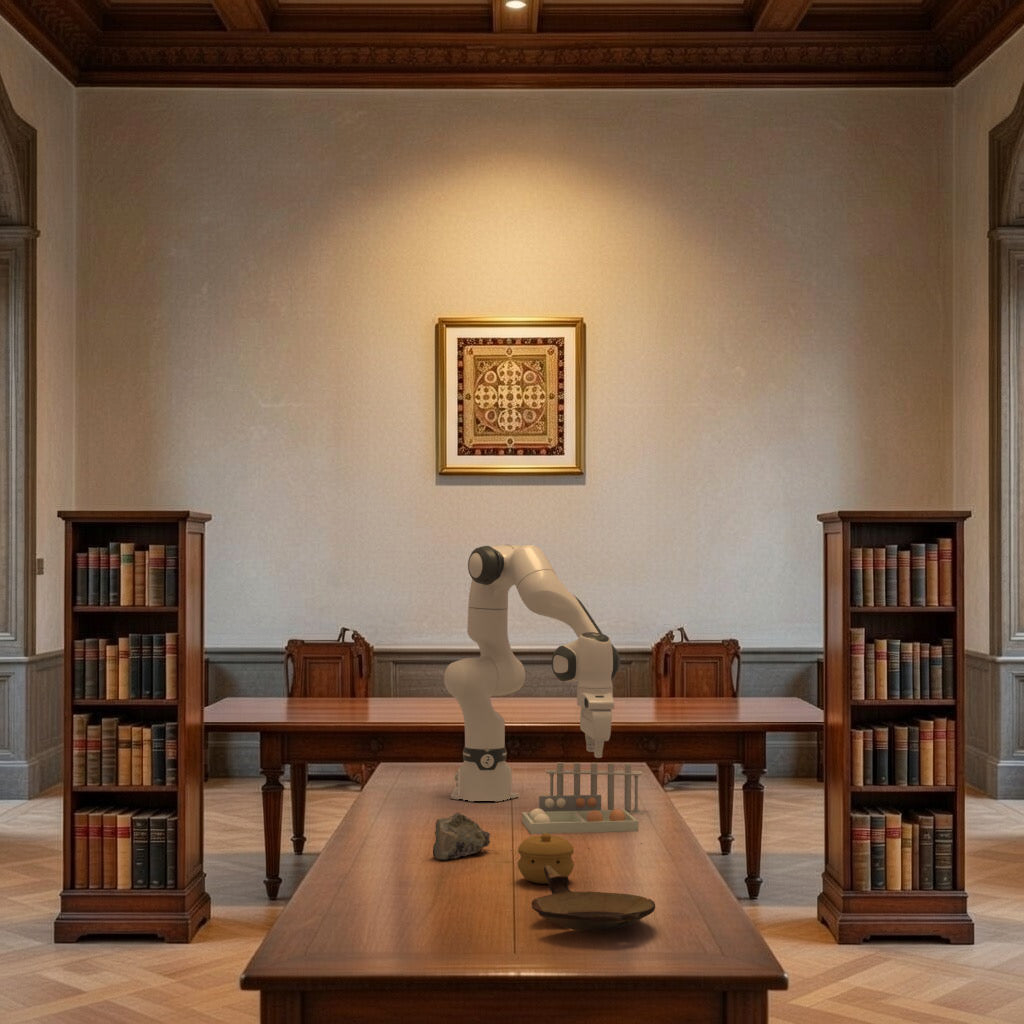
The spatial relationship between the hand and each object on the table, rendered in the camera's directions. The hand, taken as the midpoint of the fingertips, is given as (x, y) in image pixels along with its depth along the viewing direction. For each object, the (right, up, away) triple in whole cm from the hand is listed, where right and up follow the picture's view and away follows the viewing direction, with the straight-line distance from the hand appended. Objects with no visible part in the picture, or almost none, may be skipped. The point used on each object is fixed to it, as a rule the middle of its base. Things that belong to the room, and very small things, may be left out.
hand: (594, 754), depth 343 cm
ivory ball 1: (-14, -18, +1) cm, 22 cm away
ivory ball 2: (-13, -17, -6) cm, 23 cm away
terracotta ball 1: (0, -18, 0) cm, 18 cm away
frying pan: (-6, -16, -88) cm, 90 cm away
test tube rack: (+1, -19, +19) cm, 27 cm away
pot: (-13, -17, -56) cm, 60 cm away
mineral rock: (-32, -18, -33) cm, 49 cm away
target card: (-5, -19, +11) cm, 22 cm away
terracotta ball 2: (+6, -18, 0) cm, 19 cm away
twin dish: (-4, -18, -1) cm, 19 cm away
